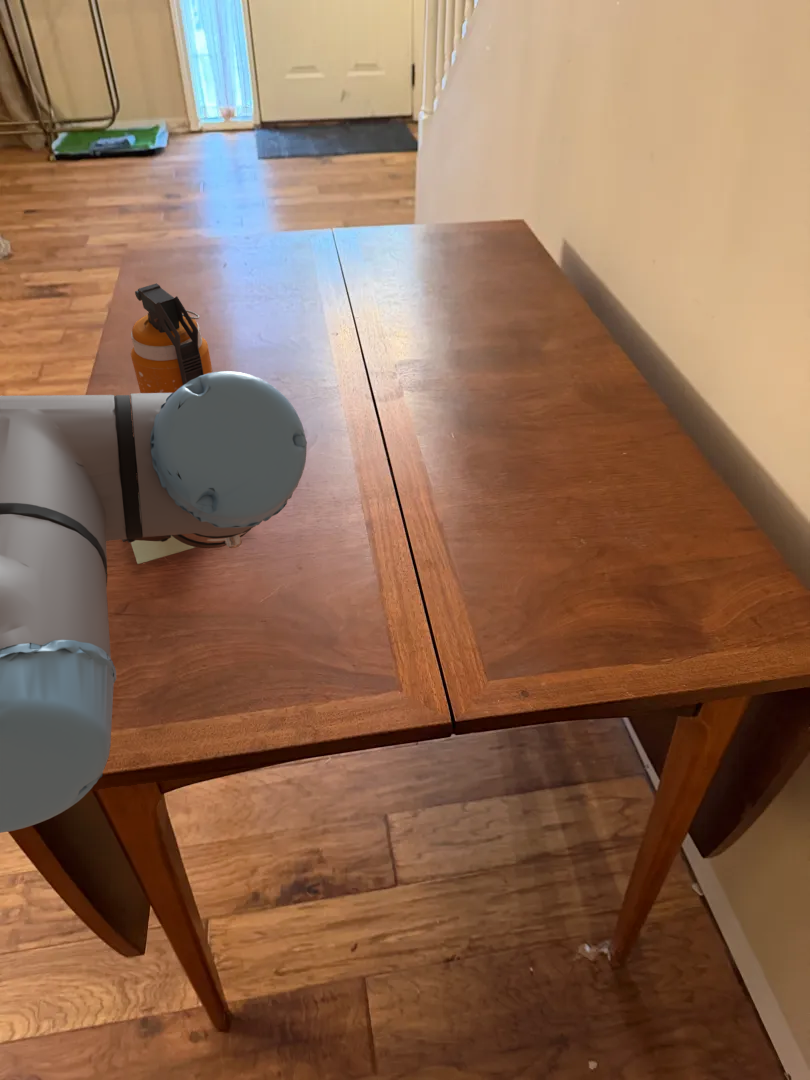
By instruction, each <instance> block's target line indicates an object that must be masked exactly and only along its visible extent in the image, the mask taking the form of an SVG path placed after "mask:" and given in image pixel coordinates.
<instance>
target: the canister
mask: <svg viewBox="0 0 810 1080" xmlns="http://www.w3.org/2000/svg"><path fill="white" fill-rule="evenodd" d="M134 295H135V297H136V299H137V300H138V301H139V302H140V301H141V303H142V308H143V309H144V310H145V311H147V314H146V315H143V316H142V317H140V318H139V319H138V320H136V321H135V322H134V324H133V326H132V328H131V332H130V338H131V341H132V346H133V347H131V348H132V349H131V350H130V359H131V361H132V365H133V366H132V367H133V369H134V370H133V371H134V373H135V377H136V381H137V385H138V388H139V393H174V392H176V391H177V390H178V389H179V388H180V387H181V386H183V385H185V384H186V383H187V382H189V381H190V380H192V379H195V378H197V377H199V376H201V375H204V374H208V373H212V372H214V370H213V365H212V361H211V355H210V348H209V344H208V341H207V340H206V339H205V338H204V337H203V336H202V332H201V328H200V324H199V322H198V321H197V320H199V319H200V315H199V314H198V313H196V312H194V311H192V310H189V309H186V308H185V306H184V305H183V303H182V301H181V300H180V298H179V296H175V297H174V296H173V295H172V294H170V293H168V291H166V290H164V288H162V287H161V285H160V284H158V283H153V284H149V285H146V286H143V287H142V286H141V287H139V288H137V290H135V291H134ZM190 314H191V315H190ZM192 315H194V316H192Z"/></svg>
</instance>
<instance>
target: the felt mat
mask: <svg viewBox="0 0 810 1080" xmlns="http://www.w3.org/2000/svg"><path fill="white" fill-rule="evenodd" d="M138 495H139V493H138ZM130 545H131V548H132V551H133V554H134V557H135V560H136V564H137V565H140V564H144V563H147V562H151V561H155V560H158V559H162V558H164V557H165V558H166V557H168V556H171V555H174V554H178V553H182V552H185V551H188V550H191V549H195V548H197V547H193V546H190V545H187V544H184V543H182V542H180V541H179V540H177V539H175V538H174V537H173V536H171V538H169V539H168V540H167V541H164V542H162V541H142V540H135V541H134V542H130Z"/></svg>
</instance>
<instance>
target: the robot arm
mask: <svg viewBox="0 0 810 1080" xmlns="http://www.w3.org/2000/svg"><path fill="white" fill-rule="evenodd" d="M307 445H308V441H307V437H306V432H305V429H304V425H303V423H302V420H301V417H300V416H299V414H298V412H297V410H296V409H295V407H294V406H293V404H292V403H291V401H290V400H289V399H288V398H287V397H286V395H284V394H283V393H282V392H281V391H280V390H279V389H278V388H276V387H275V386H274V385H272V384H271V383H270V382H268V381H266V380H264V379H263V378H260V377H258V376H256V375H252V374H249V373H247V372H241V371H231V370H221V371H213V372H212V373H208V374H204V375H201V376H199V377H197V378H195V379H192V380H190V381H189V382H187V383H186V384H185V385H183V386H181V387H180V388H179V389H178V390H177V391H176V392H174V393H140V392H139V393H138V392H137V393H135V392H134V393H130V394H116V395H114V394H59V395H58V394H51V395H49V394H48V395H47V394H45V395H44V394H43V395H42V394H41V395H39V394H38V395H36V394H35V395H34V394H33V395H31V394H30V395H29V394H28V395H0V834H4V833H7V832H13V831H17V830H22V829H26V828H29V827H31V826H34V825H37V824H40V823H42V822H45V821H47V820H50V819H52V818H54V817H56V816H59V815H60V814H62V813H63V812H66V810H69V809H70V808H71V807H73V806H74V805H75V804H78V802H80V801H81V800H82V799H83V798H84V797H85V796H86V795H87V794H89V792H90V791H91V790H92V789H93V787H94V786H95V785H96V784H97V783H98V781H99V780H100V779H101V778H102V777H103V773H104V770H105V767H106V766H107V764H108V760H109V757H110V752H111V745H112V728H113V727H112V726H113V707H114V705H113V703H114V702H113V701H114V687H115V686H114V685H115V683H116V681H117V669H116V666H115V664H114V661H113V659H112V652H111V637H110V636H111V635H110V622H109V621H110V620H109V605H108V590H107V589H108V553H107V552H108V551H107V542H111V541H122V543H128V544H131V542H134V541H135V540H142V541H162V542H164V541H167V540H168V539H169V538H171V536H173V537H174V538H175V539H177V540H179V541H180V542H182V543H184V544H187V545H190V546H193V547H196V548H198V549H216V548H222V547H225V546H227V548H229V549H236V548H240V546H241V545H242V544H243V541H242V537H243V536H245V535H246V534H248V532H250V531H251V530H252V529H253V528H255V527H256V526H258V525H260V524H261V523H262V522H267V521H269V520H270V519H271V518H272V517H274V516H276V515H278V514H279V513H280V512H281V511H282V510H283V509H284V508H285V507H286V506H287V504H288V501H289V500H290V499H292V497H293V494H294V493H295V491H296V489H297V488H298V486H299V483H300V481H301V478H302V476H303V473H304V470H305V466H306V462H307V451H308V450H307V449H308V448H307V447H308V446H307ZM138 494H139V495H138Z"/></svg>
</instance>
